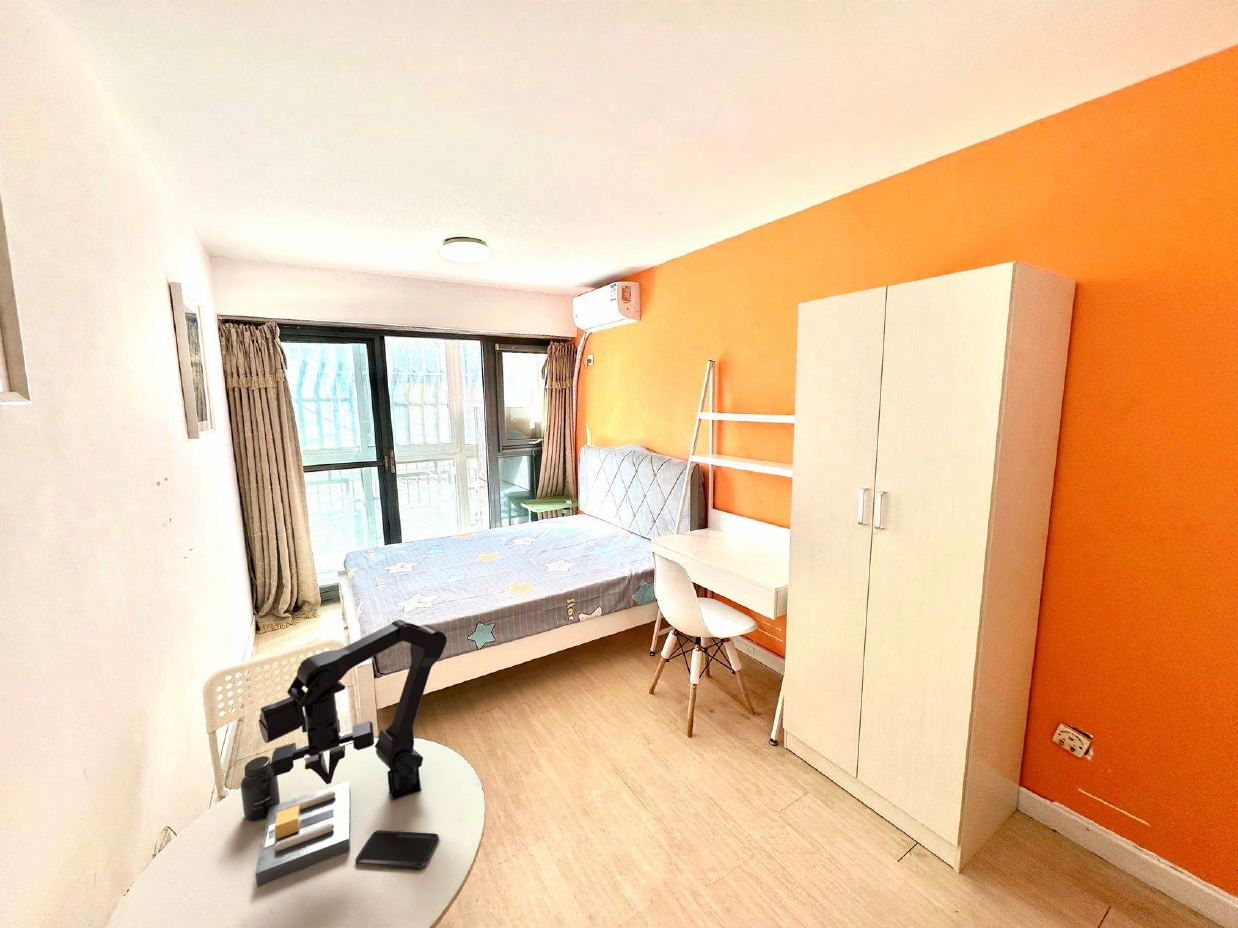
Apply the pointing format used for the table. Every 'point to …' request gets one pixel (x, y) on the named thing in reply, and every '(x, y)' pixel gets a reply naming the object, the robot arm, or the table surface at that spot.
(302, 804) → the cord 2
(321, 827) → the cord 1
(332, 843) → the panel
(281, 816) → the block
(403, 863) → the phone
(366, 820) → the table surface
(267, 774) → the supplement bottle
